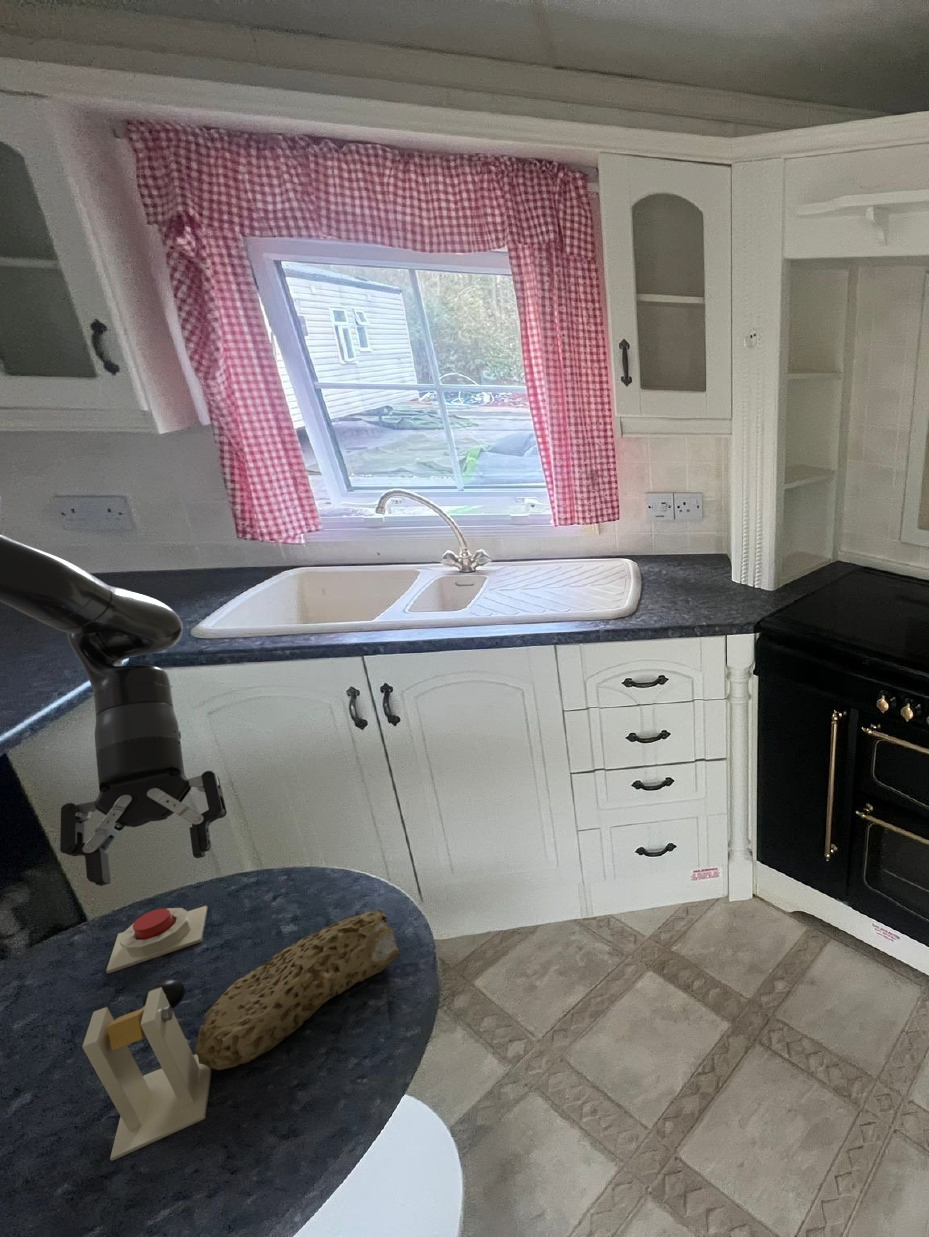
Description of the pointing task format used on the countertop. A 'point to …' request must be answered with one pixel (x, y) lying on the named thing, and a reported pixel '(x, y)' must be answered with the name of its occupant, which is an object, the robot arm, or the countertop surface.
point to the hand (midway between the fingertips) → (152, 870)
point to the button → (153, 924)
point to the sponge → (293, 988)
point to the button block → (158, 939)
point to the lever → (130, 1024)
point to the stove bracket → (149, 1077)
